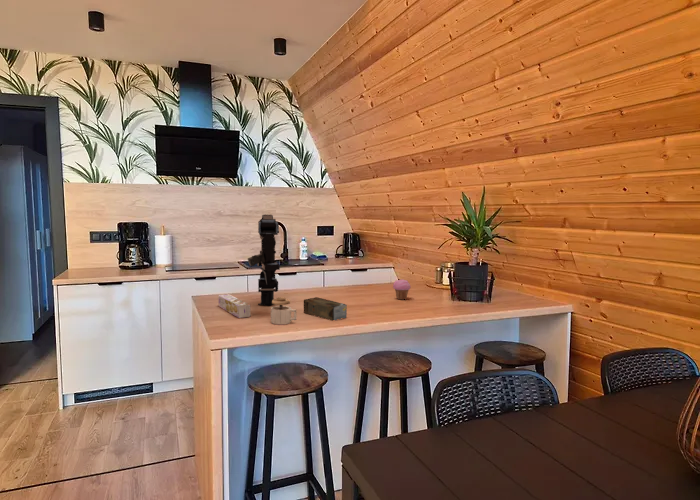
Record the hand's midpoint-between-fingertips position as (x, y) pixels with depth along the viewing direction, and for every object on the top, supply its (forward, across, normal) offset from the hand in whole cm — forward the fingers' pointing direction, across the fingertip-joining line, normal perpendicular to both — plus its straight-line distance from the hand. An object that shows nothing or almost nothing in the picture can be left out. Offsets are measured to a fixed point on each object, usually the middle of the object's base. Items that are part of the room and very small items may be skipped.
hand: (268, 284), depth 194 cm
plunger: (+10, +18, +2) cm, 20 cm away
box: (+12, -7, -14) cm, 20 cm away
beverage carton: (+13, +12, +22) cm, 28 cm away
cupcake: (+12, -10, +69) cm, 71 cm away
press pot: (+13, +18, +3) cm, 22 cm away
